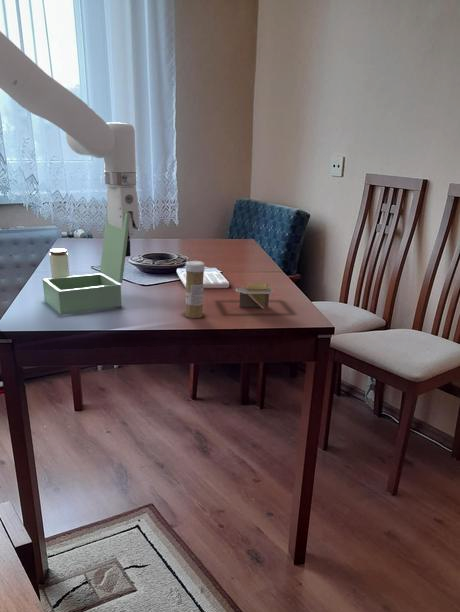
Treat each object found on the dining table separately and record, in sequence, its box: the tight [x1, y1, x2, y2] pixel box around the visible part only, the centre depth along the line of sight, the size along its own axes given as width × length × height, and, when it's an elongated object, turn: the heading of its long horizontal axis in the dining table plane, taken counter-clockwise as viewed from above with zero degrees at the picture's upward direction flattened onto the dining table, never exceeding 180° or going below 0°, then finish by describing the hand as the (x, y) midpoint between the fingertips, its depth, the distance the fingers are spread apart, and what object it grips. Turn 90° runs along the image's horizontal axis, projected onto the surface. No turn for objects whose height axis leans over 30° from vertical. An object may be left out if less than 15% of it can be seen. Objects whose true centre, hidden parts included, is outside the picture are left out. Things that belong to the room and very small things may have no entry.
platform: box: [235, 282, 274, 310], centre depth 147 cm, size 12×18×7 cm, turn 100°
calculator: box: [176, 267, 230, 289], centre depth 171 cm, size 13×20×2 cm, turn 13°
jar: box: [49, 248, 71, 278], centre depth 153 cm, size 5×5×11 cm
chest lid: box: [99, 210, 131, 284], centre depth 140 cm, size 17×13×1 cm
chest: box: [42, 272, 123, 315], centre depth 141 cm, size 16×13×6 cm
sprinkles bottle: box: [184, 260, 205, 319], centre depth 137 cm, size 5×5×14 cm
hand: (123, 255), depth 143 cm, fingers closed
